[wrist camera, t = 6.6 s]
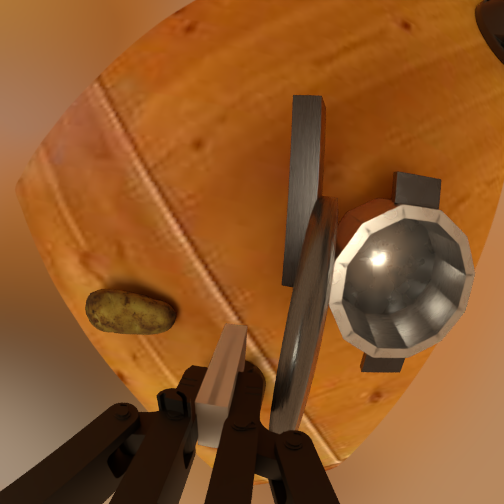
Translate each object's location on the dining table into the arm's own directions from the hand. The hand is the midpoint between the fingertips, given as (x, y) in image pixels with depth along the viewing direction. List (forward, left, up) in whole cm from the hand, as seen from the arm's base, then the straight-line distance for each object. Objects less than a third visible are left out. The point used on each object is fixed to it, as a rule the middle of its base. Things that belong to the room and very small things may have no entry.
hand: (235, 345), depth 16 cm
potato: (+19, +10, -22) cm, 31 cm away
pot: (-14, 0, -21) cm, 26 cm away
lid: (-5, -3, -3) cm, 7 cm away
